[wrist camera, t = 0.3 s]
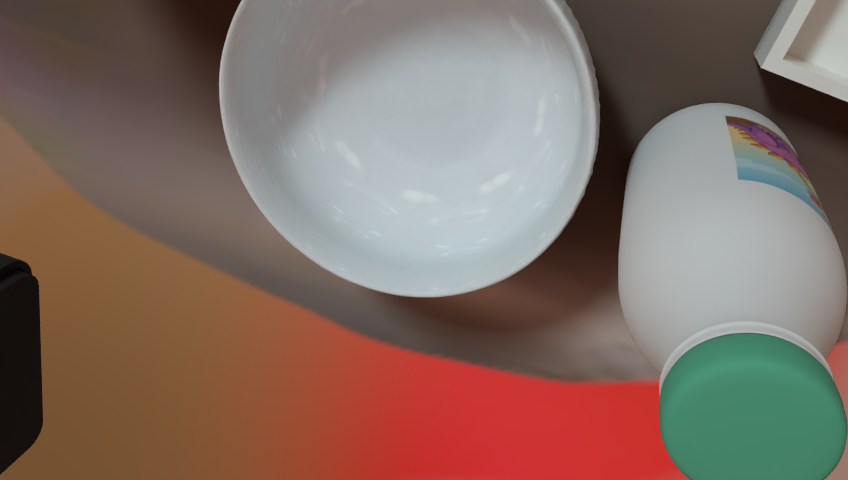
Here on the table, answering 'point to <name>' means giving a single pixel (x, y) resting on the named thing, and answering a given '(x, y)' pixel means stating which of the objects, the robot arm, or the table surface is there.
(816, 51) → the tray
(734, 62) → the table surface
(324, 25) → the cereal bowl
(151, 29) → the table surface
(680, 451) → the milk bottle
